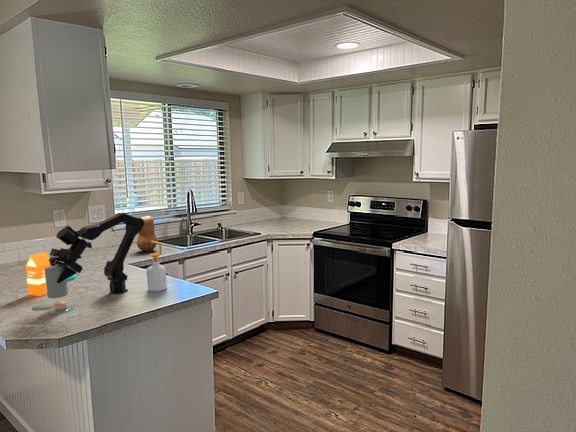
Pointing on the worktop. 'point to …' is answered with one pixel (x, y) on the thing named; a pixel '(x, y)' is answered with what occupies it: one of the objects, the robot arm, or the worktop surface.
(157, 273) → the soap bottle
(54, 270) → the grey canister
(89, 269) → the worktop surface
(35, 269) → the orange juice
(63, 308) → the teal disc stand
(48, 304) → the mat
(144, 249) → the butternut squash
